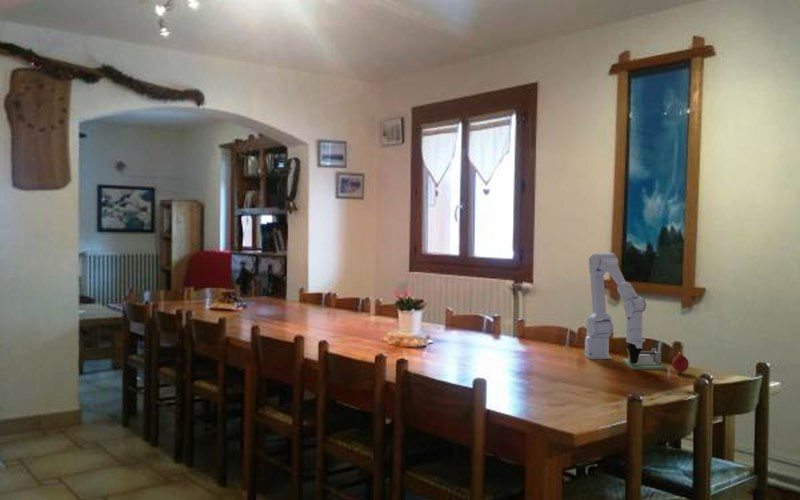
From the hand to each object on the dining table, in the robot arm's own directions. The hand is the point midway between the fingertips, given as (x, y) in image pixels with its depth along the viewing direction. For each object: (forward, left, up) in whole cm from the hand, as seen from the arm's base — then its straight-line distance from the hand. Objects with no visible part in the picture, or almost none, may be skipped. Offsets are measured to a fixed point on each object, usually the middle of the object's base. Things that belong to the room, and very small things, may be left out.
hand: (633, 363), depth 264 cm
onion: (+15, -8, -2) cm, 17 cm away
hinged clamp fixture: (+5, +5, -2) cm, 7 cm away
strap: (+5, +5, +3) cm, 7 cm away
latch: (0, +4, -1) cm, 4 cm away
